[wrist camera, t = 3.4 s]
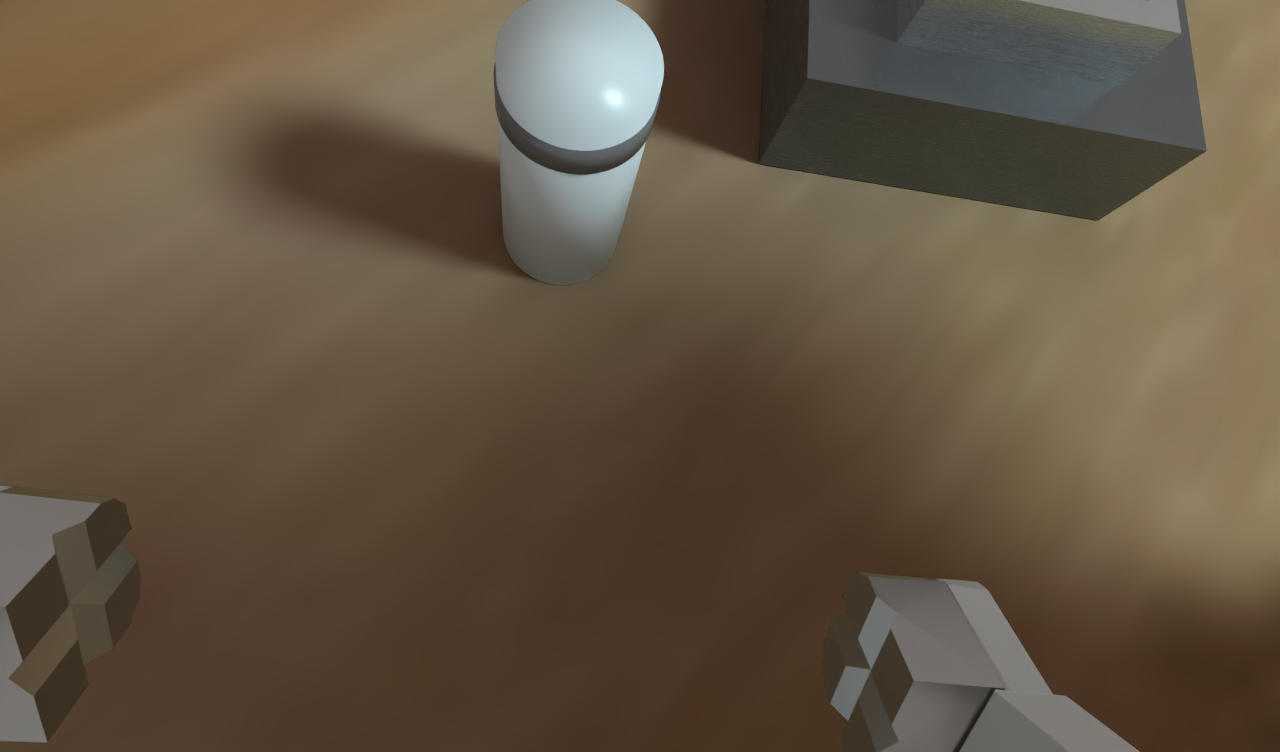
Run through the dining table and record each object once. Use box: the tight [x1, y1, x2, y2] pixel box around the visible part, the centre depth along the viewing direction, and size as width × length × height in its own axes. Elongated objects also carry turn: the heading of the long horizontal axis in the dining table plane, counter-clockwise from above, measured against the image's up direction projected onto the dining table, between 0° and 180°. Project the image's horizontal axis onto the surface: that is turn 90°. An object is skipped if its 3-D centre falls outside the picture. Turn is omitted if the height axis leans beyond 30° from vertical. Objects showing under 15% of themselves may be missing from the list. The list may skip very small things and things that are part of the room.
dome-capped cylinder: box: [494, 0, 664, 285], centre depth 22 cm, size 4×4×9 cm
